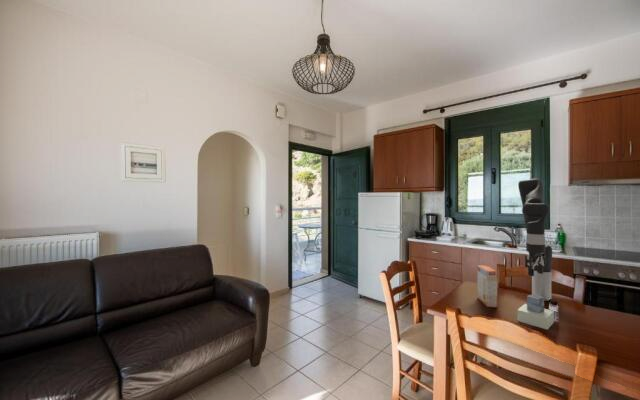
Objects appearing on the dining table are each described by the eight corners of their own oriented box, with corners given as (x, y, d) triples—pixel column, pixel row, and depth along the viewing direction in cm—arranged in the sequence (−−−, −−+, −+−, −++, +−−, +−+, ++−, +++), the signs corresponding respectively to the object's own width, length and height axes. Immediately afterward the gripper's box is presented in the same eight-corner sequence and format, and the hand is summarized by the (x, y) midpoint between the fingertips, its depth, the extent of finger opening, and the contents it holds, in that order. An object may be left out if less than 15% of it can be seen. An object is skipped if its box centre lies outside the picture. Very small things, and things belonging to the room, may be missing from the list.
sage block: (525, 314, 145) (524, 303, 145) (553, 322, 135) (553, 310, 135) (517, 321, 137) (517, 309, 137) (547, 330, 128) (547, 317, 128)
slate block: (532, 307, 139) (532, 294, 139) (544, 311, 135) (544, 297, 135) (527, 309, 137) (526, 295, 137) (538, 313, 133) (538, 299, 133)
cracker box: (498, 308, 153) (497, 271, 153) (486, 307, 154) (486, 271, 154) (487, 298, 167) (487, 265, 166) (477, 298, 168) (477, 264, 167)
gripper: (534, 240, 142) (534, 270, 142) (519, 242, 136) (519, 274, 136) (551, 242, 135) (552, 274, 135) (536, 245, 129) (536, 278, 129)
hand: (535, 274), depth 136 cm, fingers open, 8 cm apart
